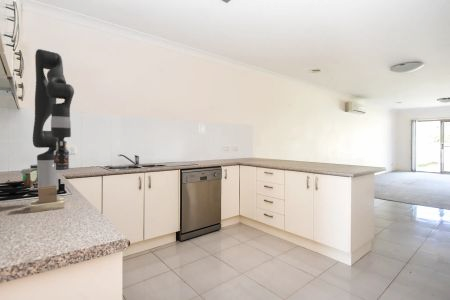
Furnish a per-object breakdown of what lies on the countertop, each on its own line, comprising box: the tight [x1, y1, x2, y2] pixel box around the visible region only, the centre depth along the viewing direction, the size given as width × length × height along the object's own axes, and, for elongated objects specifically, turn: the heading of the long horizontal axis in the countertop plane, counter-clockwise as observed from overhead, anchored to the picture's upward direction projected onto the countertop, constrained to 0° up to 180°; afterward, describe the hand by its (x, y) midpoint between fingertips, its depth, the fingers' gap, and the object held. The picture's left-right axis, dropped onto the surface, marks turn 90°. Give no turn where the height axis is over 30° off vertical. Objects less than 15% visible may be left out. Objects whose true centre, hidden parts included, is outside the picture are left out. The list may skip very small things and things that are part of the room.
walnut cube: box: [37, 185, 58, 204], centre depth 101 cm, size 6×6×6 cm
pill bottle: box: [54, 145, 70, 172], centre depth 112 cm, size 6×6×11 cm
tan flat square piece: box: [29, 197, 65, 213], centre depth 101 cm, size 10×11×3 cm
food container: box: [20, 167, 38, 187], centre depth 150 cm, size 12×6×10 cm, turn 21°
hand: (61, 163), depth 112 cm, fingers closed on pill bottle, 6 cm apart
